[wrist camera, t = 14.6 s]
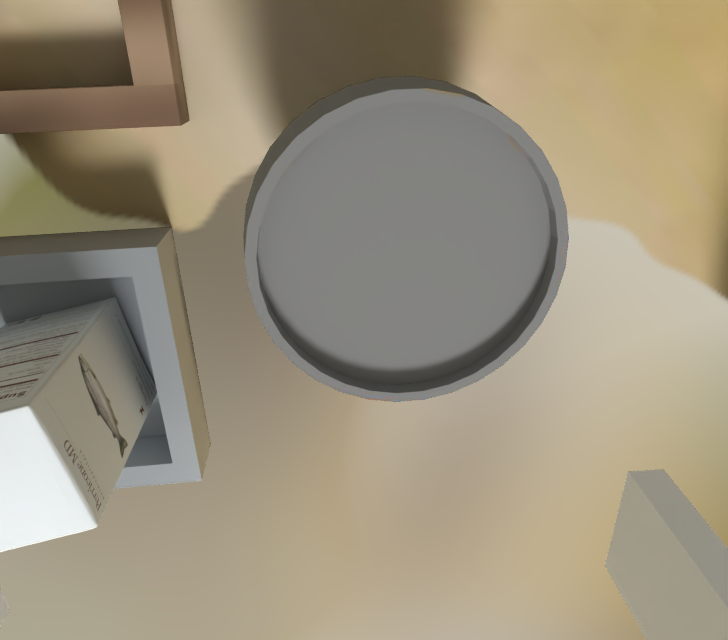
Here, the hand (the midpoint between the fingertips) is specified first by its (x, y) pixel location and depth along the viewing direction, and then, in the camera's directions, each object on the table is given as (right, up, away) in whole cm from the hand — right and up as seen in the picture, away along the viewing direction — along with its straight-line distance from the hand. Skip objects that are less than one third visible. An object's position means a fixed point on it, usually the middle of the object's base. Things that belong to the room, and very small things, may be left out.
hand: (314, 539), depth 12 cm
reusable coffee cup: (+1, +13, +23) cm, 26 cm away
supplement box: (-17, +2, +25) cm, 30 cm away
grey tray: (-17, +2, +26) cm, 31 cm away
